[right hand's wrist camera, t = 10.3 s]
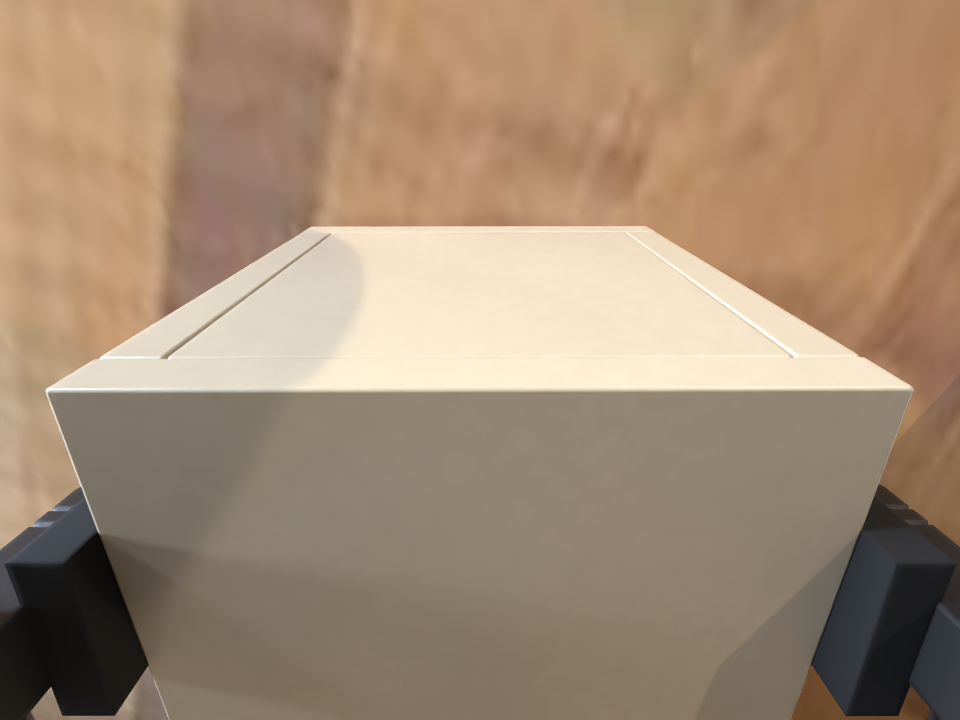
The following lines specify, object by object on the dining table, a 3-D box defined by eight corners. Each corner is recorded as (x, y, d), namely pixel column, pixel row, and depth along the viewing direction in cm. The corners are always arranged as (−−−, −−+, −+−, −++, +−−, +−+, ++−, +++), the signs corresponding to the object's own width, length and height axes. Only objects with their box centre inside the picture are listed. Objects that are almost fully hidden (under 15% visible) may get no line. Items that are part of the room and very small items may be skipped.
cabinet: (589, 685, 25) (664, 1061, 15) (369, 686, 25) (297, 1063, 15) (647, 225, 16) (917, 387, 6) (310, 226, 16) (41, 389, 6)
